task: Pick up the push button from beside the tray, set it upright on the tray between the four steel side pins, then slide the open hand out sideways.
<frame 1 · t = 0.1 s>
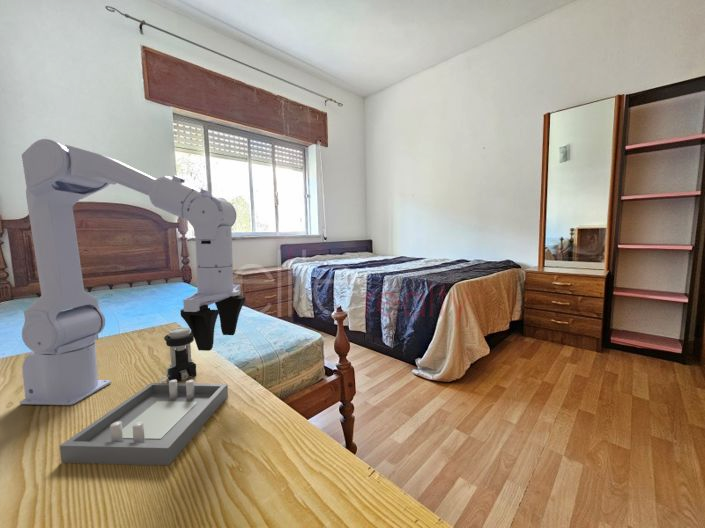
hand: (217, 341, 51), 10 cm above the table, tool pointing down, fingers open, 7 cm apart
pin tray: (159, 423, 44), on the table
push button: (178, 380, 58), on the table
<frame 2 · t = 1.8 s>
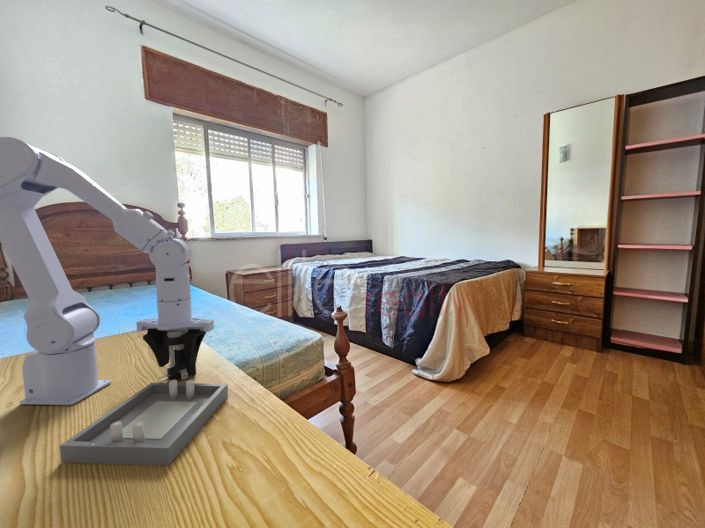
hand: (177, 365, 58), 3 cm above the table, tool pointing down, fingers closed on push button, 5 cm apart
push button: (178, 379, 58), on the table, touching gripper
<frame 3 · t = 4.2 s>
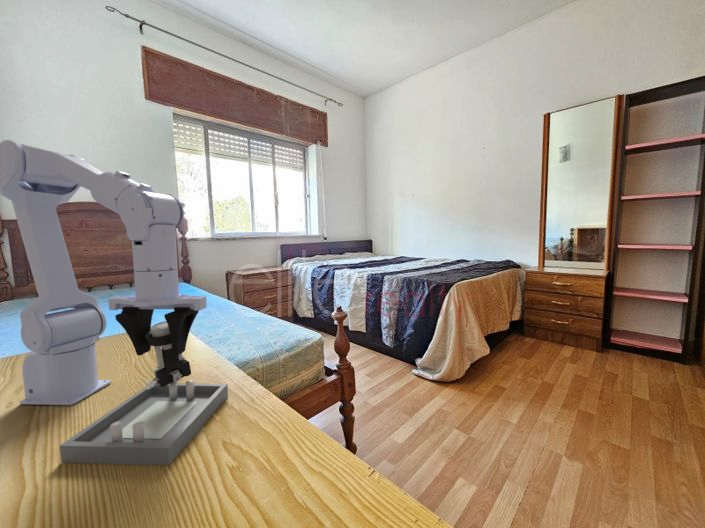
hand: (161, 353, 46), 10 cm above the table, tool pointing down, fingers closed on push button, 5 cm apart
push button: (170, 381, 49), point 4 cm above the table, touching gripper
when the fingers open (5 cm above the table, at t = 6.3 s): push button stays where it is, resting on pin tray.
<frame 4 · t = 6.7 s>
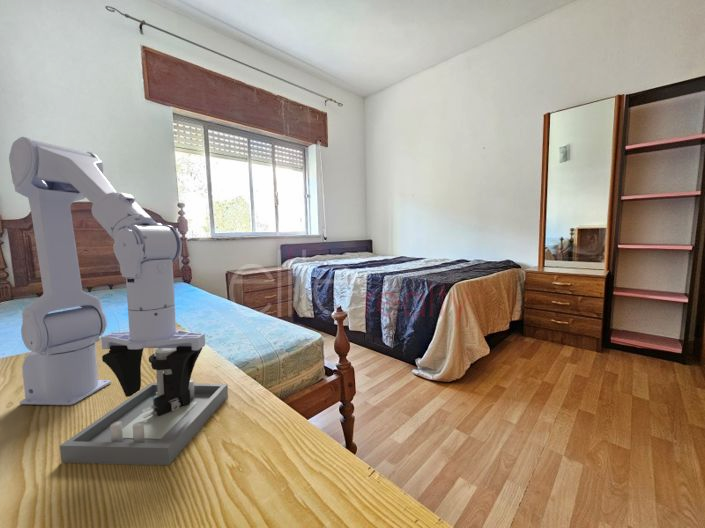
hand: (157, 393, 44), 5 cm above the table, tool pointing down, fingers open, 7 cm apart
push button: (167, 411, 46), point 1 cm above the table, touching pin tray
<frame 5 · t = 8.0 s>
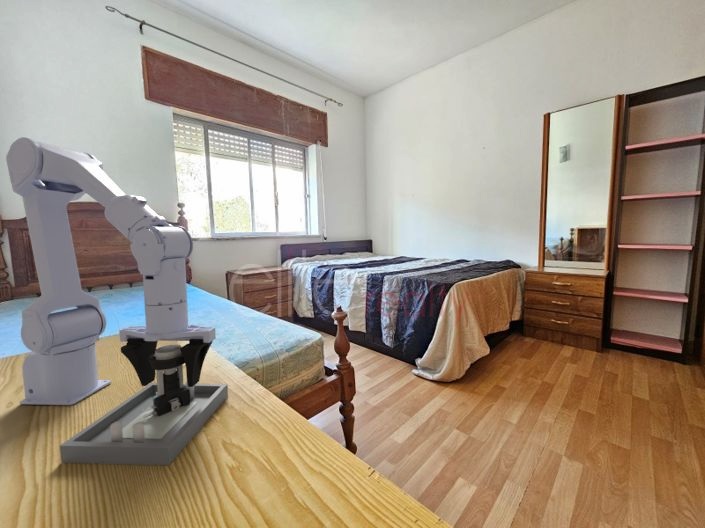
hand: (171, 383, 47), 5 cm above the table, tool pointing down, fingers open, 7 cm apart
nothing on the table moved.
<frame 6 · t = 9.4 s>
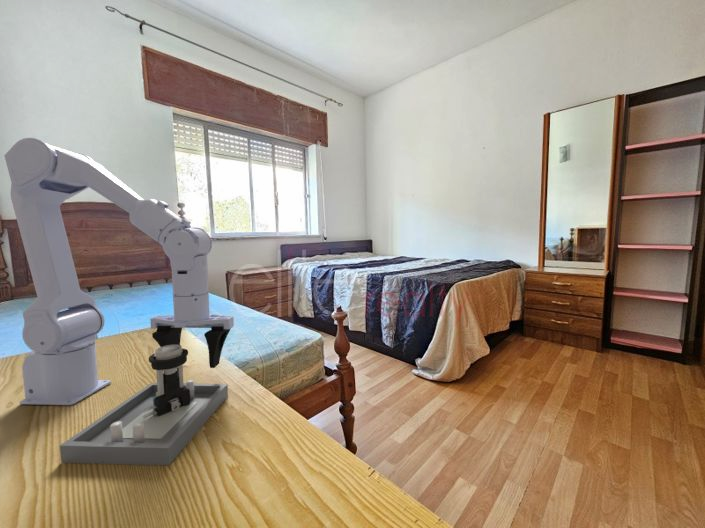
hand: (194, 365, 54), 5 cm above the table, tool pointing down, fingers open, 7 cm apart
nothing on the table moved.
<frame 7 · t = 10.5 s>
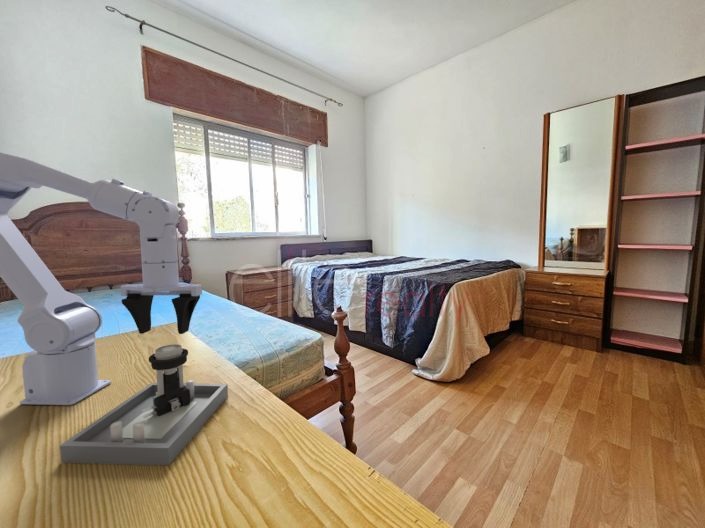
hand: (164, 332, 56), 10 cm above the table, tool pointing down, fingers open, 7 cm apart
nothing on the table moved.
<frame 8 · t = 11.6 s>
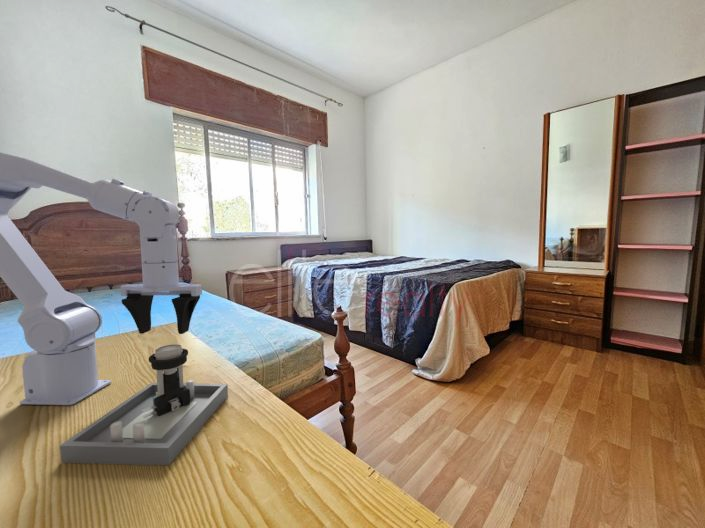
hand: (164, 332, 56), 10 cm above the table, tool pointing down, fingers open, 7 cm apart
nothing on the table moved.
at the end: push button 2.1 cm off-centre on the pin tray, point 0.7 cm above the pin tray's base; push button tilted 0°; the gripper is holding nothing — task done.
